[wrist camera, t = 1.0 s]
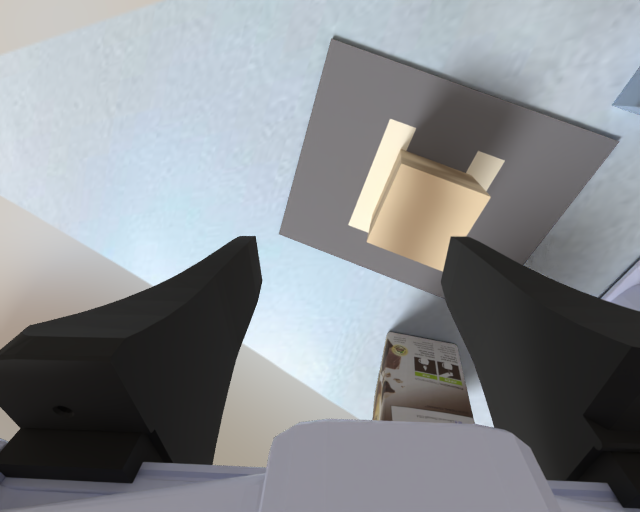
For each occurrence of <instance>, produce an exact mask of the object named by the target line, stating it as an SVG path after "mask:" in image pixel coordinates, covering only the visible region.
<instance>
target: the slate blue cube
mask: <svg viewBox="0 0 640 512" xmlns="http://www.w3.org/2000/svg"><path fill="white" fill-rule="evenodd" d="M612 106H615V107H618V108H621V109H624V110H627V111H629V112H632V113H635V114H638V115H640V67H639V68H638V70H637V71H636V73H635V74H634V75H633V77H632V78H631V79H630V81H629V82H628V84H627V85H626V86H625V88H624V89H623V90H622V92H621V93H620V95H619V96H618V97H617V99H616V100H615V101H614V103H613V104H612Z"/></svg>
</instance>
